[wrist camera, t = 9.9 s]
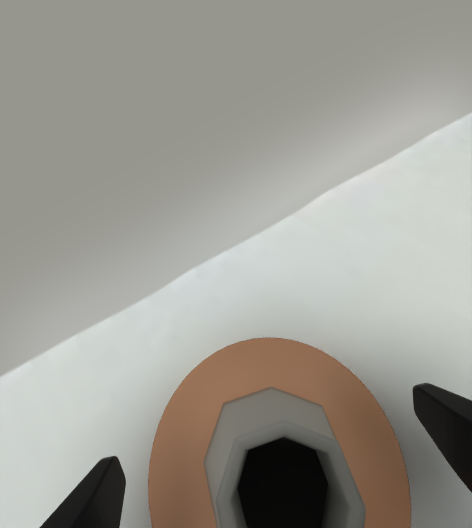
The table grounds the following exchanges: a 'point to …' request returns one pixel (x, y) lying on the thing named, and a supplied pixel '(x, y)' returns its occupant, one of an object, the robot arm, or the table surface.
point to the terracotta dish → (291, 381)
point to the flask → (279, 466)
